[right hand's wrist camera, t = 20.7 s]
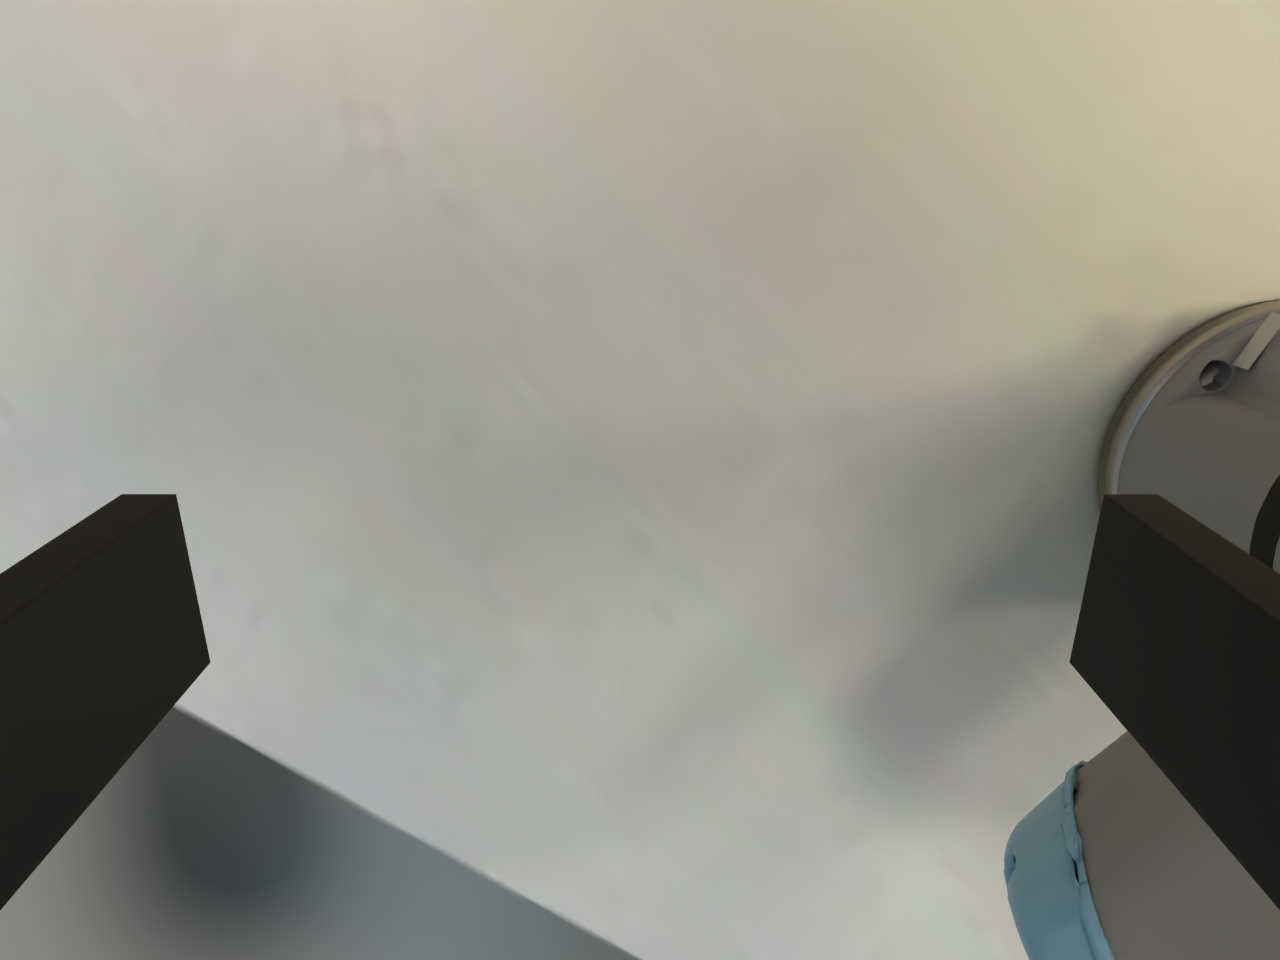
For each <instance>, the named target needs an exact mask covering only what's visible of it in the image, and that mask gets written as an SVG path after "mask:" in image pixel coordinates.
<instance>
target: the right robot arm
mask: <svg viewBox="0 0 1280 960" xmlns="http://www.w3.org/2000/svg"><path fill="white" fill-rule="evenodd" d="M1098 499H1099V505H1100V510H1101V512H1100V517H1099V521H1098V526H1097V531H1096V536H1095V541H1094V546H1093V551H1092V556H1091V561H1090V565H1089V570H1088V575H1087V580H1086V585H1085V590H1084V595H1083V600H1082V605H1081V610H1080V614H1079V619H1078V624H1077V629H1076V634H1075V639H1074V644H1073V649H1072V654H1071V658H1070V663H1071V664H1072V666H1073V667H1074V668H1075V669H1076V670H1077V671H1078V673H1079V674H1080V675H1081V676H1082V677H1083V679H1084V680H1085V681H1086V682H1087V683H1088V684H1089V686H1090V687H1091V688H1092V689H1093V690H1094V692H1095V693H1096V694H1097V695H1098V696H1099V697H1100V699H1101V700H1102V701H1103V702H1104V703H1105V705H1106V706H1107V707H1108V708H1109V709H1110V710H1111V712H1112V713H1113V714H1114V715H1115V716H1116V718H1117V719H1118V720H1119V721H1120V722H1121V723H1122V725H1123V726H1124V727H1125V728H1126V729H1127V730H1128V731H1127V732H1126V733H1124V734H1123V735H1122V736H1121V737H1119V738H1118V739H1117V740H1115V741H1114V742H1113V743H1112V744H1110V745H1109V746H1108V747H1107V748H1105V749H1104V750H1103V751H1102V752H1100V753H1099V754H1098V755H1096V756H1095V757H1094V758H1093V759H1091V760H1090V761H1089V762H1085V761H1081V762H1079V763H1078V764H1076V765H1074V766H1073V767H1072V768H1071V769H1070V770H1069V771H1068V772H1067V774H1066V777H1065V780H1064V782H1063V783H1062V784H1061V785H1060V786H1059V787H1057V788H1056V789H1055V790H1054V791H1053V792H1052V793H1051V794H1050V795H1049V796H1047V797H1046V798H1045V799H1044V800H1043V801H1042V802H1041V803H1040V804H1039V805H1037V806H1036V807H1035V808H1034V809H1033V810H1032V811H1031V812H1030V813H1029V814H1027V815H1026V816H1025V817H1024V818H1023V819H1022V820H1021V821H1020V822H1019V823H1018V824H1017V825H1016V827H1015V828H1014V830H1013V831H1012V833H1011V835H1010V838H1009V840H1008V843H1007V846H1006V850H1005V857H1004V865H1005V868H1004V874H1005V880H1006V884H1007V891H1008V900H1009V904H1010V908H1011V911H1012V915H1013V918H1014V921H1015V924H1016V927H1017V930H1018V933H1019V935H1020V938H1021V941H1022V943H1023V946H1024V948H1025V951H1026V953H1027V955H1028V957H1029V960H1280V300H1278V301H1271V302H1265V303H1261V304H1256V305H1252V306H1248V307H1245V308H1242V309H1239V310H1236V311H1233V312H1231V313H1228V314H1226V315H1223V316H1221V317H1219V318H1216V319H1214V320H1213V321H1211V322H1209V323H1207V324H1205V325H1203V326H1201V327H1199V328H1198V329H1196V330H1195V331H1193V332H1191V333H1190V334H1188V335H1187V336H1185V337H1184V338H1182V339H1181V340H1180V341H1178V342H1177V343H1176V344H1174V345H1173V346H1172V347H1170V348H1169V349H1168V350H1167V351H1166V352H1165V353H1164V354H1162V355H1161V356H1160V357H1159V358H1158V359H1157V360H1156V361H1155V362H1154V363H1153V364H1152V365H1151V366H1150V367H1149V368H1148V369H1147V370H1146V371H1145V372H1144V373H1143V375H1142V376H1141V377H1140V378H1139V379H1138V381H1137V382H1136V383H1135V384H1134V386H1133V387H1132V389H1131V390H1130V391H1129V393H1128V394H1127V396H1126V397H1125V399H1124V400H1123V402H1122V404H1121V405H1120V407H1119V409H1118V411H1117V412H1116V414H1115V417H1114V419H1113V421H1112V423H1111V425H1110V427H1109V430H1108V433H1107V436H1106V438H1105V441H1104V445H1103V449H1102V453H1101V457H1100V463H1099V470H1098ZM209 663H210V658H209V654H208V649H207V644H206V639H205V634H204V629H203V624H202V619H201V614H200V610H199V605H198V600H197V595H196V590H195V585H194V580H193V575H192V570H191V565H190V561H189V556H188V551H187V546H186V541H185V536H184V531H183V526H182V521H181V517H180V512H179V507H178V502H177V497H176V494H122V495H120V496H119V497H117V498H116V499H114V500H113V501H111V502H109V503H108V504H106V505H105V506H103V507H102V508H100V509H99V510H97V511H96V512H94V513H93V514H91V515H90V516H88V517H87V518H85V519H84V520H82V521H80V522H79V523H77V524H76V525H74V526H73V527H71V528H70V529H68V530H67V531H65V532H64V533H62V534H61V535H59V536H58V537H56V538H55V539H53V540H51V541H50V542H48V543H47V544H45V545H44V546H42V547H41V548H39V549H38V550H36V551H35V552H33V553H32V554H30V555H29V556H27V557H26V558H24V559H22V560H21V561H19V562H18V563H16V564H15V565H13V566H12V567H10V568H9V569H7V570H6V571H4V572H3V573H1V574H0V910H1V909H2V908H3V906H4V905H5V904H6V903H7V902H8V901H9V899H10V898H11V897H12V896H13V895H14V893H15V892H16V891H17V890H18V889H19V888H20V886H21V885H22V884H23V883H24V882H25V880H26V879H27V878H28V877H29V876H30V875H31V873H32V872H33V871H34V870H35V869H36V867H37V866H38V865H39V864H40V863H41V862H42V860H43V859H44V858H45V857H46V856H47V854H48V853H49V852H50V851H51V850H52V848H53V847H54V846H55V845H56V844H57V843H58V841H59V840H60V839H61V838H62V837H63V836H64V834H65V833H66V832H67V831H68V830H69V828H70V827H71V826H72V825H73V824H74V823H75V821H76V820H77V819H78V818H79V817H80V816H81V814H82V813H83V812H84V811H85V810H86V808H87V807H88V806H89V805H90V804H91V802H92V801H93V800H94V799H95V798H96V797H97V795H98V794H99V793H100V792H101V791H102V790H103V788H104V787H105V786H106V785H107V784H108V782H109V781H110V780H111V779H112V778H113V776H114V775H115V774H116V773H117V772H118V771H119V769H120V768H121V767H122V766H123V765H124V764H125V762H126V761H127V760H128V759H129V758H130V756H131V755H132V754H133V753H134V752H135V751H136V749H137V748H138V747H139V746H140V745H141V743H142V742H143V741H144V740H145V739H146V737H147V736H148V735H149V734H150V733H151V732H152V730H153V729H154V728H155V727H156V726H157V725H158V723H159V722H160V721H161V720H162V719H163V717H164V716H165V715H166V714H167V713H168V712H169V710H170V709H171V708H172V707H173V706H174V705H175V703H176V702H177V701H178V700H179V699H180V697H181V696H182V695H183V694H184V693H185V692H186V690H187V689H188V688H189V687H190V686H191V684H192V683H193V682H194V681H195V680H196V679H197V677H198V676H199V675H200V674H201V673H202V671H203V670H204V669H205V668H206V667H207V666H208V664H209Z"/></svg>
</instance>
